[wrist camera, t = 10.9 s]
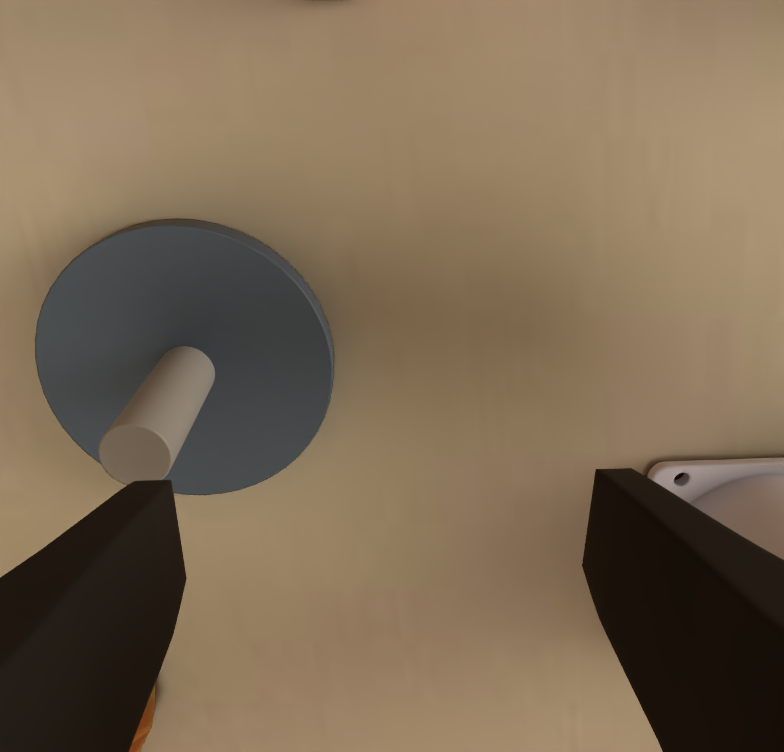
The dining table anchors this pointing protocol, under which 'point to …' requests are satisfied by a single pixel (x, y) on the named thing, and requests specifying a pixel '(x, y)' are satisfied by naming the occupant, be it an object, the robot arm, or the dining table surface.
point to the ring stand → (185, 356)
